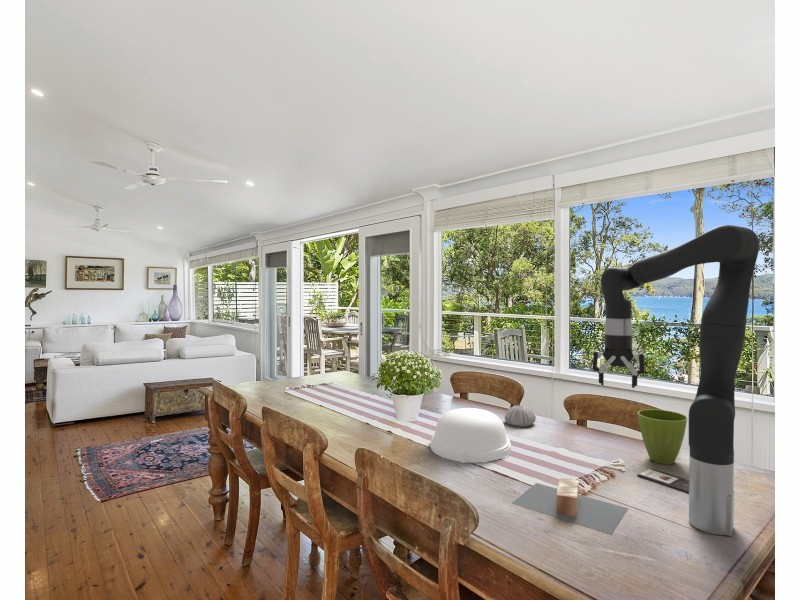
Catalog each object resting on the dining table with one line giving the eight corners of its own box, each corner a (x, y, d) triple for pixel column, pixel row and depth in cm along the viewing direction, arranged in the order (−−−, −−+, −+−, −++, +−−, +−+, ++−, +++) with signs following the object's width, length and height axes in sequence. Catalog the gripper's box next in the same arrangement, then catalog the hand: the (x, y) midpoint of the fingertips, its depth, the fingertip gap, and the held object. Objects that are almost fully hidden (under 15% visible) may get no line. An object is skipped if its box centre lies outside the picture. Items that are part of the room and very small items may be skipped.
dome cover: (440, 431, 193) (440, 398, 193) (514, 438, 184) (514, 403, 184) (420, 458, 163) (420, 419, 162) (507, 468, 154) (507, 427, 153)
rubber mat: (628, 510, 124) (628, 508, 124) (611, 536, 111) (611, 534, 111) (536, 484, 141) (536, 482, 141) (511, 504, 128) (511, 503, 128)
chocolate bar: (699, 495, 132) (637, 474, 147) (699, 498, 132) (637, 477, 147) (713, 487, 137) (651, 468, 152) (713, 490, 137) (651, 471, 152)
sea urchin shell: (524, 430, 194) (524, 411, 194) (498, 423, 204) (498, 405, 204) (541, 424, 203) (541, 406, 203) (515, 417, 213) (515, 400, 213)
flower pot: (631, 460, 160) (632, 415, 159) (644, 449, 171) (644, 406, 170) (680, 472, 149) (681, 423, 149) (690, 459, 160) (691, 414, 160)
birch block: (578, 480, 131) (576, 498, 120) (578, 497, 131) (576, 517, 120) (560, 477, 133) (556, 494, 122) (560, 494, 133) (556, 513, 122)
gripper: (592, 333, 139) (592, 386, 140) (645, 335, 134) (644, 390, 134) (593, 331, 146) (592, 382, 147) (643, 333, 140) (643, 385, 141)
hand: (617, 386), depth 140 cm, fingers open, 8 cm apart
